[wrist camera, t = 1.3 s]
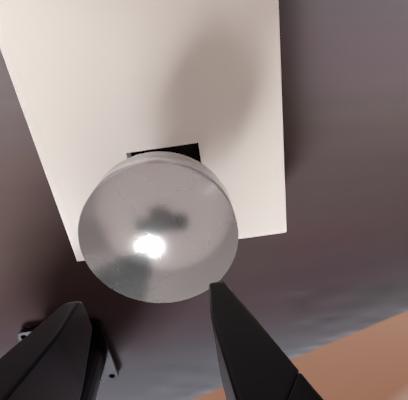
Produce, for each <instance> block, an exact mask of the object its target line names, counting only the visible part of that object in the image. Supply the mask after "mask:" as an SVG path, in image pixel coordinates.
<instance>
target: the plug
mask: <svg viewBox="0 0 408 400" xmlns="http://www.w3.org/2000/svg"><path fill="white" fill-rule="evenodd" d="M78 239H79V245H80V249H81V252H82V255H83V257H84V259H85V261H86V263H87V265H88V266H89V268H90V269H91V271H92V272H93V273H94V274H95V276H97V277H98V278H99V279H100V280H101V281H102V282H103V283H104V284H105V285H107V286H108V287H109V288H111V289H113V290H114V291H116V292H118V293H120V294H122V295H124V296H126V297H129V298H132V299H135V300H139V301H144V302H151V303H170V302H177V301H182V300H186V299H189V298H192V297H194V296H197V295H199V294H201V293H203V292H205V291H206V290H208V289H209V284H210V283H213V282H218V281H219V280H220V279H221V278H222V277H223V276H224V275H225V273H226V272H227V271H228V269H229V267H230V266H231V264H232V262H233V260H234V257H235V255H236V251H237V247H238V226H237V221H236V217H235V214H234V210H233V207H232V203H231V200H230V197H229V194H228V192H227V190H226V188H225V186H224V185H223V183H222V182H221V181H220V179H219V178H218V177H217V176H216V175H215V174H214V173H213V172H212V171H211V170H210V169H209V168H208V167H206V166H205V165H203V164H202V163H200V162H199V161H197V160H195V159H193V158H190V157H188V156H185V155H182V154H178V153H173V152H163V151H156V152H146V153H142V154H137V155H135V156H132V157H129V158H127V159H125V160H123V161H121V162H120V163H118V164H117V165H115V166H114V167H113V168H112V169H110V170H109V171H108V172H107V173H106V174H105V176H104V177H103V178H102V179H101V181H100V182H99V184H98V185H97V186H96V188H95V189H94V191H93V192H92V194H91V195H90V197H89V198H88V200H87V201H86V203H85V205H84V207H83V209H82V212H81V215H80V219H79V224H78Z"/></svg>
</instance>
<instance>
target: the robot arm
mask: <svg viewBox="0 0 408 400" xmlns="http://www.w3.org/2000/svg"><path fill="white" fill-rule="evenodd" d="M209 296H210V311H211V319H212V325H213V331H214V337H215V343H216V349H217V355H218V361H219V367H220V373H221V378H222V383H223V387H224V391H225V395H226V400H323V399H322V397H321V396H320V395H319V394H318V393H317V392H316V391H315V390H314V388H313V387H312V386H311V385H310V384H309V382H308V381H307V380H306V379H305V378H304V376H303V375H302V374H301V373H299V371H298V369H297V368H296V367H295V366H294V365H293V363H292V362H291V361H290V360H289V359H288V357H287V356H286V355H285V354H284V352H283V351H282V350H281V349H280V348H279V346H278V345H277V344H276V343H275V342H274V340H273V339H272V338H271V337H270V336H269V334H268V333H267V332H266V331H265V330H264V328H263V327H262V326H261V325H260V324H259V322H258V321H257V320H256V319H255V318H254V316H253V315H252V314H251V313H250V312H249V310H248V309H247V308H246V307H245V305H244V304H243V303H242V302H241V301H240V299H239V298H238V297H237V296H236V295H235V293H234V292H233V291H232V290H231V289H230V287H229V286H228V285H227V284H226V283H225V282H224V281H221V282H213V283H210V284H209ZM93 325H95V326H93ZM25 335H26V336H25ZM17 337H18V340H19V343H18V344H17V345H16V346H14V347H13V348H12V349H11V350H10V351H9V352H7V353H6V354H5V355H4V356H3V357H2V358H0V400H95V399H96V396H97V392H98V388H99V384H100V382H103V381H111V380H116V379H117V378H118V374H119V370H118V368H117V365H116V362H115V359H114V356H113V353H112V351H111V348H110V345H109V342H108V339H107V337H106V334H105V331H104V328H103V325H102V323H101V321H99V320H97V319H91V320H89V317H88V315H87V312H86V309H85V307H84V305H83V303H82V302H80V301H75V302H68V303H65V304H63V305H62V306H61V307H60V308H59V309H57V310H56V311H55V312H54V313H53V314H52V315H50V316H49V317H48V318H47V319H46V320H45V321H43V322H42V323H41V324H40V325H39V326H38V327H33V328H25V329H22V330H21V331H20V332H19V334H18V336H17Z"/></svg>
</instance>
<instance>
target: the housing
mask: <svg viewBox="0 0 408 400" xmlns="http://www.w3.org/2000/svg"><path fill="white" fill-rule="evenodd" d="M0 49H1V52H2V55H3V57H4V60H5V63H6V66H7V69H8V71H9V74H10V77H11V80H12V82H13V85H14V88H15V91H16V93H17V96H18V99H19V102H20V105H21V107H22V110H23V113H24V116H25V118H26V121H27V124H28V127H29V130H30V132H31V135H32V138H33V141H34V143H35V146H36V149H37V152H38V154H39V157H40V160H41V163H42V166H43V168H44V171H45V174H46V177H47V179H48V182H49V185H50V188H51V190H52V193H53V196H54V199H55V202H56V204H57V207H58V210H59V213H60V215H61V218H62V221H63V224H64V227H65V229H66V232H67V235H68V238H69V240H70V243H71V246H72V249H73V251H74V254H75V257H76V260H77V262H78V261H85V259H84V257H83V255H82V252H81V249H80V245H79V239H78V224H79V219H80V215H81V212H82V209H83V207H84V205H85V203H86V201H87V200H88V198H89V197H90V195H91V194H92V192H93V191H94V189H95V188H96V186H97V185H98V184H99V182H100V181H101V179H102V178H103V177H104V176H105V174H106V173H107V172H108V171H109V170H110V169H112V168H113V167H114V166H115V165H117V164H118V163H120V162H121V161H123V160H125V159H127V158H129V157H131V153H132V152H138V151H145V150H152V149H159V148H166V147H173V146H180V145H187V144H193V143H198V145H199V152H200V159H201V163H202V164H203V165H205V166H206V167H208V168H209V169H210V170H211V171H212V172H213V173H214V174H215V175H216V176H217V177H218V178H219V179H220V181H221V182H222V183H223V185H224V186H225V188H226V190H227V192H228V194H229V197H230V200H231V203H232V207H233V210H234V214H235V217H236V221H237V226H238V239H242V238H250V237H257V236H264V235H271V234H278V233H285V232H287V229H286V200H285V171H284V142H283V113H282V84H281V55H280V27H279V0H0Z"/></svg>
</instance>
